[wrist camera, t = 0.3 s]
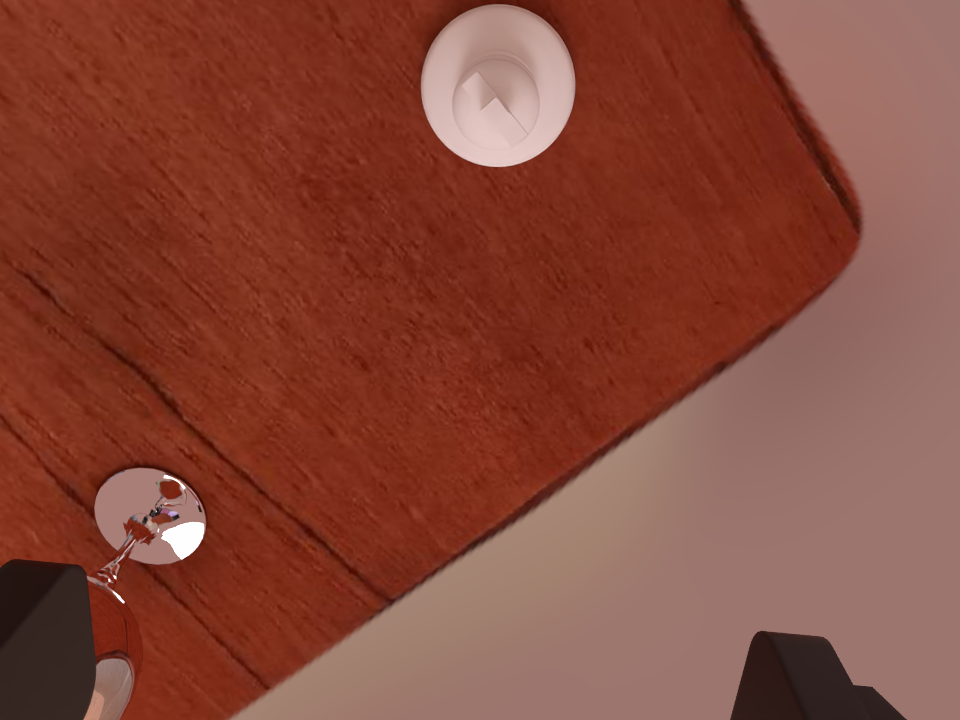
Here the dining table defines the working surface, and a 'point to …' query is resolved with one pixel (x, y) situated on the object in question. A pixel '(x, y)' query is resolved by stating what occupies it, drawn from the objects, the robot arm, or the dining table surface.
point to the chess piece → (498, 85)
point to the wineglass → (143, 538)
